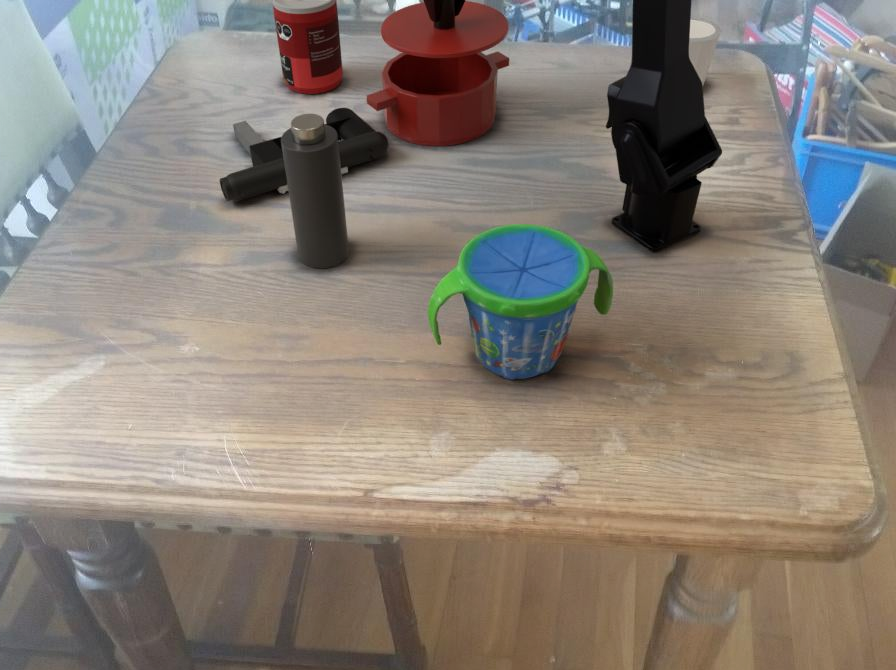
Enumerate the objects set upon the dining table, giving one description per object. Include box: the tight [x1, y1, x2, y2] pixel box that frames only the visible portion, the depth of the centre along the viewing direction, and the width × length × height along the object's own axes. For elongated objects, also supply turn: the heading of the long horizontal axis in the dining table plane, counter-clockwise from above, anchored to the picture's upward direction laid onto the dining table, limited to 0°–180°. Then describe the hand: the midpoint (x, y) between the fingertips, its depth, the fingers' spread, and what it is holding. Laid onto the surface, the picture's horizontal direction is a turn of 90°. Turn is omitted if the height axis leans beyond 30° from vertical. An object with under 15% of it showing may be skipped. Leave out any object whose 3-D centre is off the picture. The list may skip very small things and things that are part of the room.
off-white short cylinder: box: [689, 16, 722, 87], centre depth 106 cm, size 7×7×7 cm
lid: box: [380, 0, 510, 58], centre depth 96 cm, size 14×14×6 cm
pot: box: [366, 50, 510, 147], centre depth 104 cm, size 13×19×6 cm
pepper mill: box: [280, 113, 350, 269], centre depth 83 cm, size 5×5×14 cm
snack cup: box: [427, 223, 614, 381], centre depth 73 cm, size 16×10×10 cm
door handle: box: [219, 107, 390, 202], centre depth 100 cm, size 3×20×16 cm
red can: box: [272, 0, 344, 95], centre depth 110 cm, size 8×8×11 cm
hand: (444, 18), depth 97 cm, fingers closed on lid, 2 cm apart
